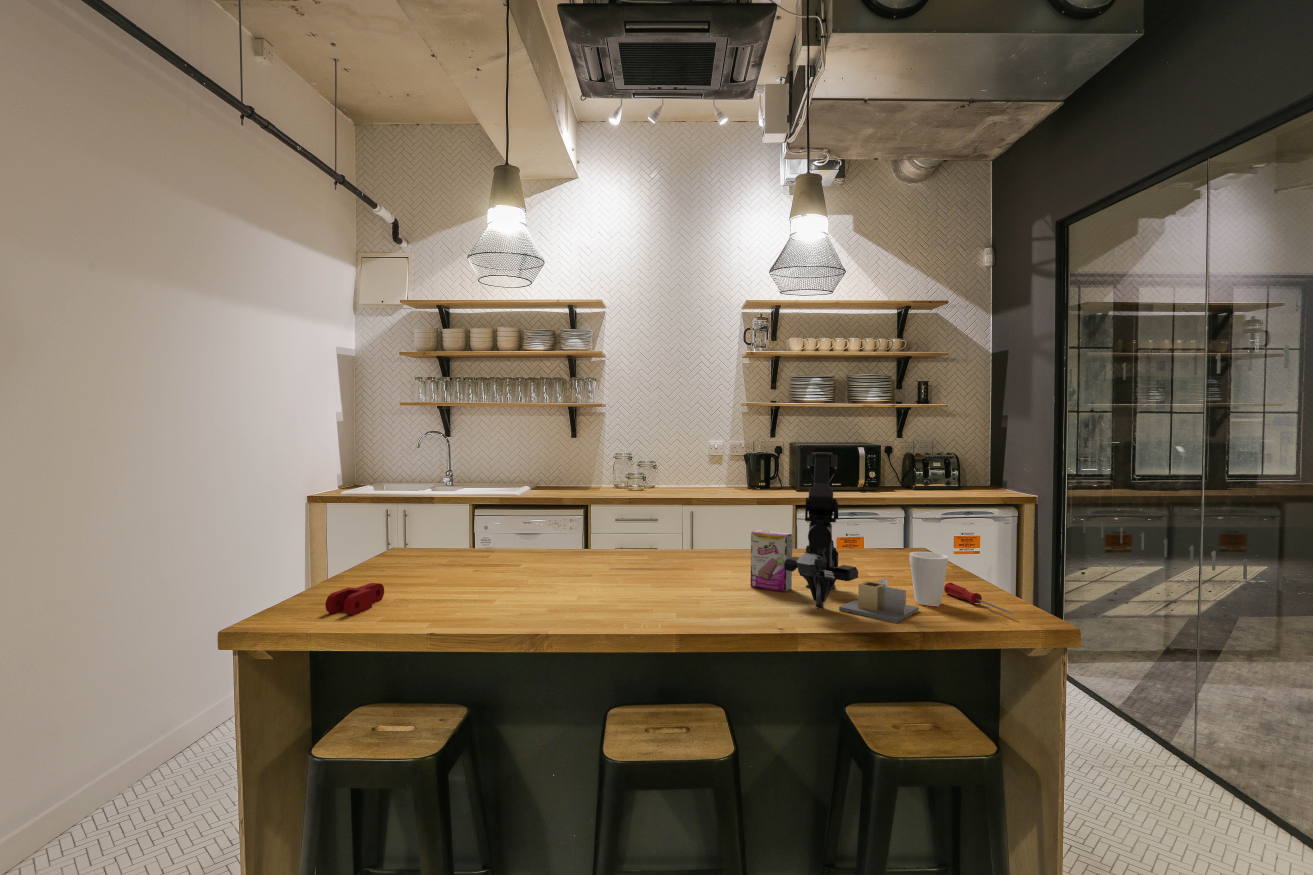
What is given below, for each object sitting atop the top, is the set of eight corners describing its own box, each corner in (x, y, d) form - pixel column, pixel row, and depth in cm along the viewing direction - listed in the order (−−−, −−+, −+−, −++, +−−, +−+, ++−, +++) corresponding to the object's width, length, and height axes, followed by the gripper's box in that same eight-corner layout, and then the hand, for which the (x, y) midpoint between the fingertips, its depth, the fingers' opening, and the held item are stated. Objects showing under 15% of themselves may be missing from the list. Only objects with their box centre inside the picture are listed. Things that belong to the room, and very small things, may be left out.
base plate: (839, 610, 165) (839, 606, 165) (863, 599, 175) (863, 596, 175) (896, 623, 155) (896, 618, 155) (918, 611, 165) (918, 607, 165)
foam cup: (906, 605, 171) (907, 556, 170) (910, 597, 179) (911, 550, 179) (946, 610, 166) (946, 560, 166) (948, 601, 174) (949, 553, 174)
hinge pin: (814, 607, 168) (814, 577, 168) (817, 605, 169) (818, 575, 169) (821, 609, 166) (821, 578, 166) (824, 607, 168) (825, 576, 168)
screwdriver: (1006, 620, 158) (1006, 606, 158) (942, 594, 182) (942, 581, 182) (1018, 620, 158) (1018, 606, 158) (953, 593, 183) (953, 581, 183)
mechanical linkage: (350, 617, 157) (350, 597, 157) (325, 615, 159) (325, 595, 159) (392, 600, 172) (392, 581, 172) (369, 598, 174) (369, 580, 174)
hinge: (858, 607, 164) (858, 584, 164) (876, 599, 172) (877, 577, 172) (900, 616, 157) (901, 592, 157) (918, 607, 165) (918, 584, 165)
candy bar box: (749, 587, 188) (750, 531, 188) (756, 583, 192) (757, 529, 192) (786, 593, 182) (786, 535, 182) (792, 589, 186) (793, 532, 186)
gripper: (772, 541, 168) (772, 600, 168) (838, 551, 155) (838, 615, 156) (794, 535, 176) (794, 592, 176) (859, 544, 163) (858, 605, 164)
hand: (819, 601), depth 168 cm, fingers closed on hinge pin, 2 cm apart
